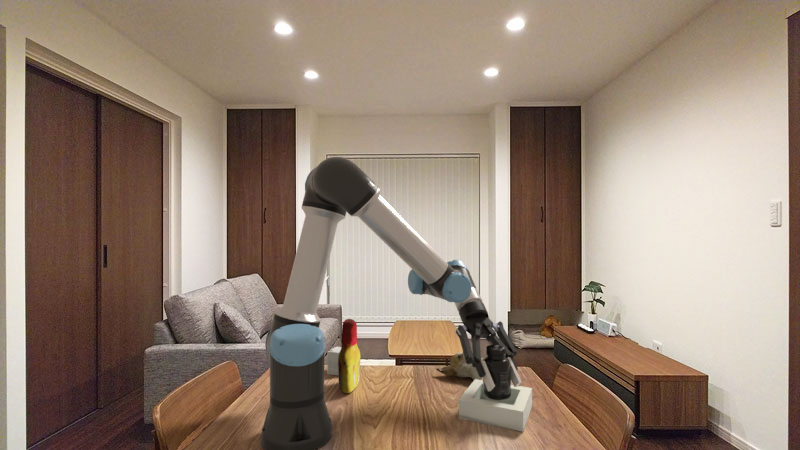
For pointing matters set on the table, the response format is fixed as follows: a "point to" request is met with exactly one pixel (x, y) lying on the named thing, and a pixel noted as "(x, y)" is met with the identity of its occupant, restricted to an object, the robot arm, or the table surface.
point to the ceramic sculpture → (460, 368)
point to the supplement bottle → (498, 373)
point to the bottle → (349, 357)
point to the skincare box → (333, 360)
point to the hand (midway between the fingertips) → (504, 386)
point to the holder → (496, 407)
